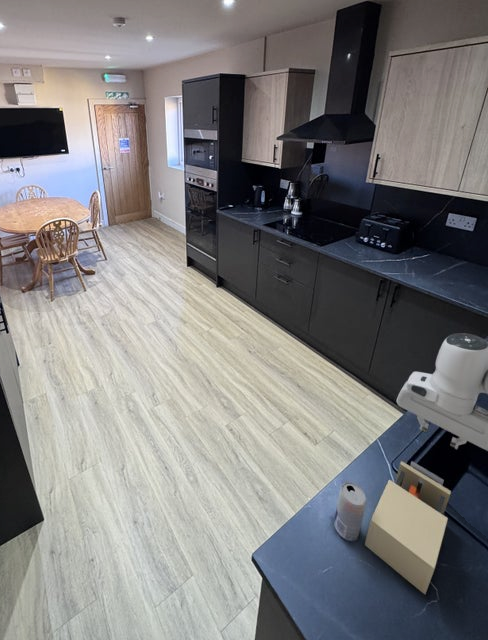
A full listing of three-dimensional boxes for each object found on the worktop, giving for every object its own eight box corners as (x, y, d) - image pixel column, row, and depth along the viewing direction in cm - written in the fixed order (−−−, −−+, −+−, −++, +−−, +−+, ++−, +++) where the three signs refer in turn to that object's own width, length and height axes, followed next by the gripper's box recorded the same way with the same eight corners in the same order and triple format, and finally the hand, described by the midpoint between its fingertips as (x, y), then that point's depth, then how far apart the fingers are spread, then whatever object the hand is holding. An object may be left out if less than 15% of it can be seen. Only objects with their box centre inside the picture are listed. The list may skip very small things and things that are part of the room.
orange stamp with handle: (414, 510, 78) (404, 504, 80) (417, 500, 80) (408, 494, 82) (421, 486, 76) (411, 480, 77) (424, 477, 78) (415, 471, 79)
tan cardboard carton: (383, 503, 82) (389, 479, 79) (439, 543, 74) (448, 518, 71) (364, 544, 73) (370, 519, 71) (425, 595, 65) (434, 568, 63)
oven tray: (401, 467, 89) (406, 449, 87) (448, 496, 82) (454, 477, 80) (382, 512, 79) (387, 493, 77) (433, 550, 72) (440, 530, 69)
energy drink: (351, 515, 79) (358, 480, 75) (363, 541, 74) (371, 505, 70) (329, 516, 79) (336, 481, 75) (340, 542, 74) (347, 506, 70)
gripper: (511, 412, 73) (494, 457, 77) (406, 368, 87) (397, 408, 92) (508, 429, 69) (491, 475, 73) (400, 380, 83) (390, 421, 88)
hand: (438, 437), depth 83 cm, fingers open, 5 cm apart
